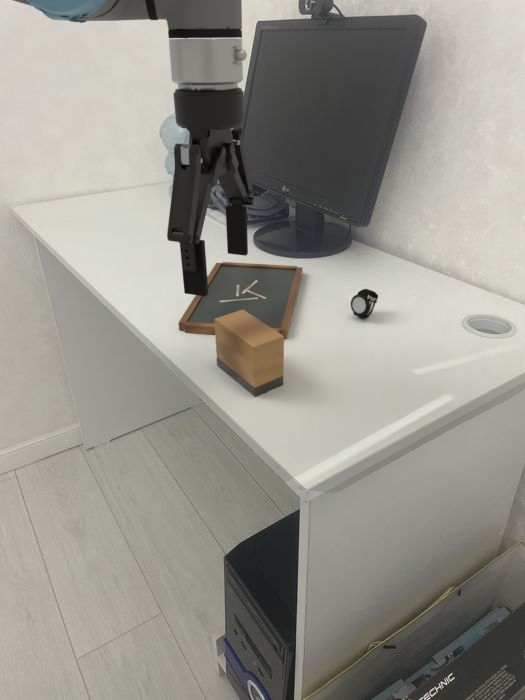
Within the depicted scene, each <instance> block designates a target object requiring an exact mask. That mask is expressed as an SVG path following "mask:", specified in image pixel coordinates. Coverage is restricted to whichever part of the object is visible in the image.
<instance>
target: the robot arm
mask: <svg viewBox="0 0 525 700" xmlns="http://www.w3.org/2000/svg"><path fill="white" fill-rule="evenodd" d="M12 1H14V2H17V3H20V4H23V5H28V6H30V7H33V8H34V9H36V10H37V11H40V12H42V13H43V15H44V16H46V18H48V19H50V20H53V21H68V22H71V23H80V24H84V23H87V22H113V21H114V22H117V21H118V22H119V21H120V22H121V21H142V20H144V21H145V20H146V21H147V20H150V21H159V20H164V21H166V24H167V34H168V48H169V49H168V50H169V61H170V73H171V82H172V83H173V84H175V85H177V88H176V89H174V92H173V95H172V96H173V105H174V115H175V117H174V118H175V124H176V125H177V126H178V127H179V128H182V129H186V130H187V131H188V133H189V134H188V143H175V144H174V147H173V155H174V156H173V157H174V172H173V179H172V180H173V181H172V187H171V188H172V189H171V198H170V206H169V214H168V224H167V231H166V236H167V237H166V238H167V241H169V242H175V243H178V244H179V247H180V248H179V249H180V259H181V260H180V261H181V271H182V281H183V292H184V293H183V294H185V295H192V296H196V295H199V296H207V295H208V282H207V277H208V270H207V269H208V267H207V255H206V242H205V241H206V240H205V239H201V237H202V233H203V229H204V224H205V219H206V215H207V211H208V206H209V204H210V203H209V202H210V198H211V193H212V189H213V188H214V187H216V186H217V184H218V182H219V185H220V187H221V189H222V191H223V193H224V196H225V198H226V200H227V202H228V205H226V206H225V223H226V246H227V255H228V254H229V255H237V256H245V257H246V256H248V254H249V248H248V247H249V243H248V242H249V240H248V206H249V207H250V206H252V207H253V205H254V203H255V198H254V196H253V194H254V189H253V184H252V180H251V174H250V170H249V165H248V161H247V160H248V159H247V156H246V151H245V146H244V132H243V131H244V130H243V127H242V125H243V124H244V123H245V92H244V90H243V89H242V88H241V87H238V84H239V83H241V82H242V81H243V80H244V70H243V69H244V65H243V63H244V62H243V61H245V60H246V59H247V57H248V54H247V50H245V49H243V31H242V30H243V16H242V15H243V12H242V11H243V10H242V9H243V8H242V6H243V5H242V1H243V0H12Z"/></svg>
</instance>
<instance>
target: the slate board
mask: <svg viewBox="0 0 525 700" xmlns="http://www.w3.org/2000/svg"><path fill="white" fill-rule="evenodd" d="M303 270H304V268H303V267H300V266H298V265H285V264H284V265H283V264H265V263H264V264H263V263H251V262H250V263H247V262H233V261H231V262H230V261H222V262H216V263H215V264H214V265H213V267H212V269H211V271H209V273H208V274H207V282H208V295H207V296H199V295H194V297H193V299H192V300H191V302H190V304H189V305H188V307H187V309H185V311H184V314H183V315H182V316H181V318H180V319H179V321H178V330H179V331H184V333H186V334H187V333H188V334H189V333H190V334H201V335H202V334H204V335H215V320H214V319H215V318H218V317H221V316H224V315H227V314H230V313H233V312H237V311H240V310H245V311H246V312H248V313H249V314H251V315H252V316H254V317H255V318H257V319H258V320H260V321H261V322H263V323H265V324H266V325H268V326H269V327H271V328H272V329H274V330H275V331H277V332H278V333H280V334H281V335H283V336H284V339H288V335H289V331H290V327H291V323H292V318H293V315H294V310H295V306H296V302H297V298H298V294H299V290H300V286H301V282H302V278H303V273H304V271H303Z"/></svg>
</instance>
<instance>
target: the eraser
mask: <svg viewBox="0 0 525 700" xmlns="http://www.w3.org/2000/svg"><path fill="white" fill-rule="evenodd" d="M214 320H215V349H216V350H215V351H216V366H217V367H219V368H220V369H221V370H222V371H223V372H225V373H226V374H227V375H228V376H229V377H231V378H232V379H233V380H234V381H236V383H238V384H239V385H240V386H241V387H243V388H244V389H245V390H246V391H247V392H249V393H250V394H251V395H252V396H254V397H258V396H260V395H262V394H264V393H267V392H269V391H272V390H274V389H276V388H278V387H281V386H284V368H285V367H284V366H285V365H284V359H285V338H284V336H283V335H281V334H280V333H278V332H277V331H275V330H274V329H272V328H271V327H269V326H268V325H266V324H265V323H263V322H261V321H260V320H258V319H257V318H255V317H254V316H252V315H251V314H249V313H248V312H246V311H245V310H240V311H237V312H233V313H230V314H227V315H224V316H221V317H218V318H215V319H214Z"/></svg>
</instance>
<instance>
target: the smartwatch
mask: <svg viewBox="0 0 525 700" xmlns="http://www.w3.org/2000/svg"><path fill="white" fill-rule="evenodd" d="M378 298H379V294H378V293H377V292H376V291H374V290H371V289H368V288H363V289H361V290H359V291H358V292H357V294H355V295H354V296H353V297H352V298H351V300H350V309H351V311H352V314H353V315H354V316H356V317H358V318H360V319H368V318H369V317H370V316H371V314H372V313H373V311H374V308H375V306H376V304H377V303H378V300H379V299H378Z"/></svg>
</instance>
